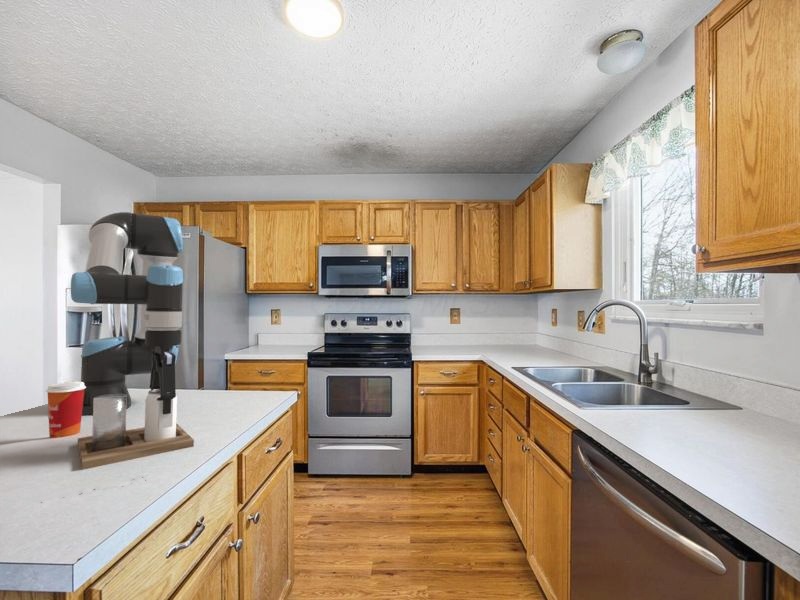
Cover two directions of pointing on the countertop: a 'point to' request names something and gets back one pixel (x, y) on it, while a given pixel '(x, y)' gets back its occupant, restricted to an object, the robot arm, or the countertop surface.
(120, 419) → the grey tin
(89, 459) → the tray
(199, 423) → the countertop surface
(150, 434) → the can
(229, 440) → the countertop surface
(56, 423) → the paper cup
